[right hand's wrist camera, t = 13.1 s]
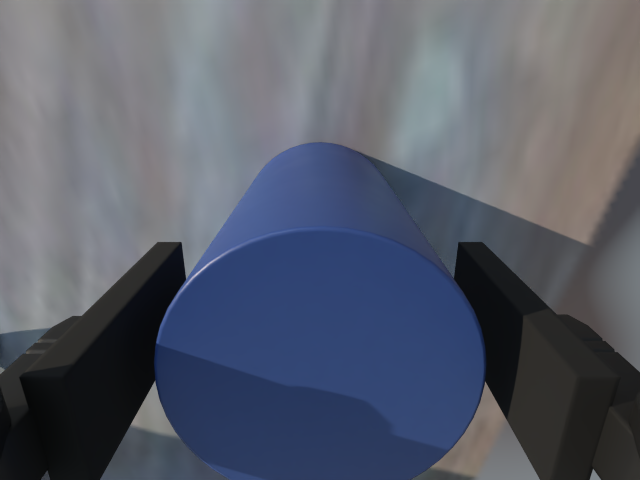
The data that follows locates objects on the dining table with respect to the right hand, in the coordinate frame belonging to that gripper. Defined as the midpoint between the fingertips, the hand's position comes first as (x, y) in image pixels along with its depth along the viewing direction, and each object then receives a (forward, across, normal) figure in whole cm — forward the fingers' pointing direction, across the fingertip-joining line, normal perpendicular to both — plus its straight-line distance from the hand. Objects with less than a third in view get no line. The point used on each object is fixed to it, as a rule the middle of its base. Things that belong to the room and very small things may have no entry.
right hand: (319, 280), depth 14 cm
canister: (+7, 0, 0) cm, 7 cm away
